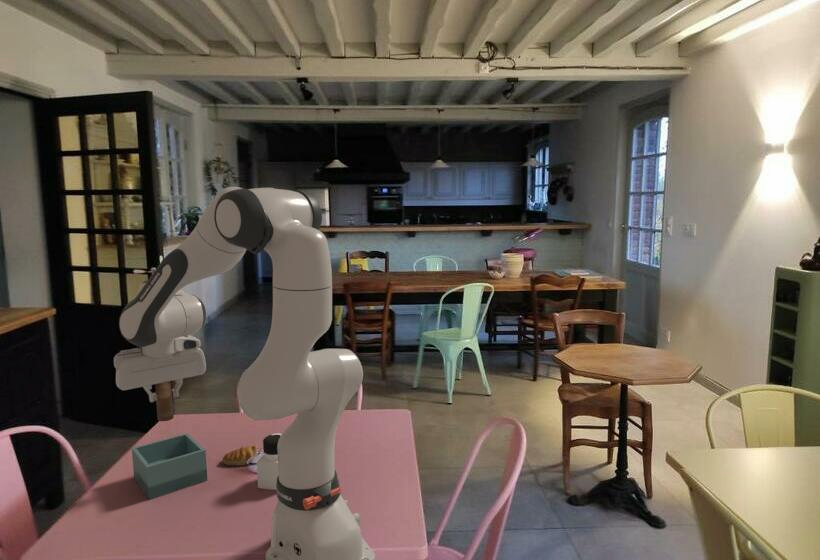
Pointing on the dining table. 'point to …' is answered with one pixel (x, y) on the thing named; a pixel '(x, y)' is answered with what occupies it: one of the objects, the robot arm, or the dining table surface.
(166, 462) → the box
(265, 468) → the medicine bottle
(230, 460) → the pastry
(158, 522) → the dining table surface
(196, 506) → the dining table surface
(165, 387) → the peg
